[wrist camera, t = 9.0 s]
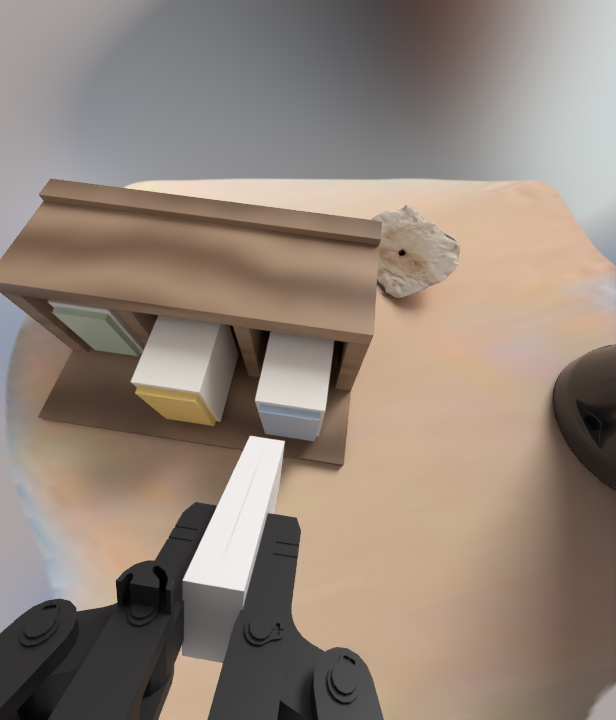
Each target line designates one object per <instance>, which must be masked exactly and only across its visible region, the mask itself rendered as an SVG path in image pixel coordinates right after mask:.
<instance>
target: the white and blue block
mask: <svg viewBox="0 0 616 720" xmlns="http://www.w3.org/2000/svg"><path fill="white" fill-rule="evenodd" d="M333 347H334V340H329V339H322V338H315V337H308V336H301V335H294V334H287V333H280V332H273V331H271V332H270V337H269V341H268V345H267V350H266V354H265V358H264V363H263V367H262V371H261V376H260V380H259V385H258V389H257V393H256V398H255V402H256V406H257V409H258V413H259V416H260V419H261V422H262V425H263V428H264V431H265V434H269V435H276V436H282V437H289V438H296V439H302V440H309V441H315V439H316V436H317V437H319V434H320V430H321V426H322V422H323V418H324V414H325V410H326V402H327V394H328V386H329V378H330V371H331V363H332V355H333Z"/></svg>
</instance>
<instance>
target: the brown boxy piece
mask: <svg viewBox="0 0 616 720" xmlns="http://www.w3.org/2000/svg"><path fill="white" fill-rule="evenodd" d="M39 195H40V197H41V198H42V199H43V200H44V201H43V203H42V204H41V205H40V207H39V208H38V209H37V211H36V212H35V214H34V215H33V217H32V218H31V219H30V220H29V222H28V223H27V224H26V226H25V227H24V228H23V230H22V231H21V233H20V234H19V235H18V236H17V238H16V239H15V241H14V242H13V243H12V245H11V246H10V247H9V249H8V250H7V251H6V253H5V254H4V255H3V257H2V258H1V260H0V292H1V293H2V294H3V295H4V296H5V297H7V298H8V299H9V300H11V301H12V302H13V303H14V304H16V305H17V306H18V307H19V308H21V309H22V310H24V312H26V313H27V314H28V315H30V316H31V317H32V318H33V319H35V320H36V321H37V322H38V323H40V324H41V325H42V326H43V327H45V328H46V329H47V330H49V331H50V332H51V333H52V334H54V335H55V336H56V337H57V338H59V339H60V340H61V341H63V342H64V343H65V344H66V345H68V346H69V347H70V348H71V349H73V351H72V353H71V355H70V357H69V359H68V361H67V363H66V365H65V367H64V369H63V370H62V372H61V374H60V376H59V378H58V380H57V382H56V384H55V386H54V388H53V390H52V391H51V393H50V395H49V397H48V399H47V401H46V403H45V405H44V407H43V409H42V411H41V412H40V414H39V416H38V417H39V418H42V419H47V420H53V421H59V422H66V423H72V424H79V425H85V426H92V427H98V428H104V429H111V430H117V431H124V432H130V433H137V434H143V435H149V436H156V437H162V438H169V439H175V440H182V441H188V442H194V443H201V444H207V445H214V446H220V447H227V448H233V449H239V450H244V448H245V446H246V443H247V441H248V439H249V437H250V436H255V437H261V438H268V439H274V440H281V441H285V444H284V452H283V456H284V457H291V458H297V459H304V460H310V461H316V462H323V463H329V464H336V465H342V466H343V465H344V456H345V445H346V434H347V424H348V413H349V403H350V392H351V389H352V386H353V384H354V381H355V379H356V376H357V374H358V372H359V369H360V367H361V364H362V362H363V359H364V357H365V354H366V352H367V350H368V347H369V345H370V342H371V340H372V337H373V332H374V317H375V302H376V287H377V272H378V257H379V244H380V241H381V232H382V222H381V221H374V220H366V219H358V218H350V217H343V216H335V215H327V214H320V213H312V212H304V211H296V210H289V209H281V208H273V207H265V206H258V205H250V204H242V203H235V202H227V201H219V200H211V199H204V198H196V197H188V196H180V195H173V194H165V193H157V192H150V191H142V190H134V189H126V188H119V187H111V186H103V185H95V184H88V183H79V182H72V181H64V180H57V179H50V180H49V182H48V183H47V184H46V186H45V187H44V188H43V190H42V191H41V192H40V194H39ZM48 300H56V301H63V302H70V303H77V304H84V305H91V306H98V307H105V308H112V309H115V310H116V311H117V312H118V314H119V315H120V316H121V317H122V318H123V320H124V321H125V322H126V323H127V324H128V325H129V327H130V328H131V329H132V330H133V331H134V333H135V334H136V335H137V336H138V337H139V339H140V340H141V341H142V342H143V343H144V345H145V346H146V344H147V341H148V339H149V336H150V334H151V332H152V329H153V327H154V324H155V322H156V320H157V317H158V315H161V316H168V317H175V318H182V319H189V320H196V321H203V322H210V323H217V324H224V325H229V326H230V329H231V332H232V335H233V338H234V341H235V344H236V347H237V350H238V353H239V355H238V359H237V363H236V367H235V370H234V374H233V378H232V381H231V385H230V389H229V393H228V396H227V400H226V404H225V407H224V411H223V415H222V419H221V422H219V421H216V422H215V425H214V426H211V425H204V424H198V423H191V422H185V421H178V420H172V419H166V418H165V417H163V416H162V415H161V414H160V413H158V412H157V411H156V410H155V409H154V408H152V407H151V406H150V405H149V404H148V403H146V402H145V401H144V400H143V399H141V398H140V397H139V396H138V395H137V394H135V392H136V389H137V387H136V386H135V385H134V384H132V383H131V380H132V377H133V375H134V373H135V370H136V368H137V365H138V363H139V361H140V358H141V356H142V353H140V355H139V356H132V355H125V354H118V353H112V352H105V351H98V350H94V349H93V348H92V347H91V346H90V345H89V344H87V343H86V342H85V341H84V340H83V339H82V338H81V337H79V336H78V335H77V334H76V333H75V332H74V331H73V330H71V329H70V328H69V327H68V326H67V325H66V324H65V323H63V322H62V321H61V320H60V319H59V318H58V317H57V316H55V315H54V314H53V313H52V311H53V310H54V307H53V306H52V305H50V304H49V303H48V302H47V301H48ZM271 331H273V332H280V333H287V334H294V335H301V336H308V337H315V338H322V339H329V340H334V347H333V355H332V363H331V371H330V378H329V386H328V394H327V402H326V410H325V414H324V418H323V422H322V426H321V430H320V434H319V437H317V436H316V439H315V441H309V440H302V439H296V438H289V437H282V436H276V435H269V434H265V431H264V428H263V425H262V422H261V419H260V416H259V413H258V409H257V406H256V402H255V398H256V393H257V389H258V385H259V380H260V376H261V371H262V367H263V363H264V358H265V354H266V350H267V345H268V341H269V337H270V332H271Z"/></svg>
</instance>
